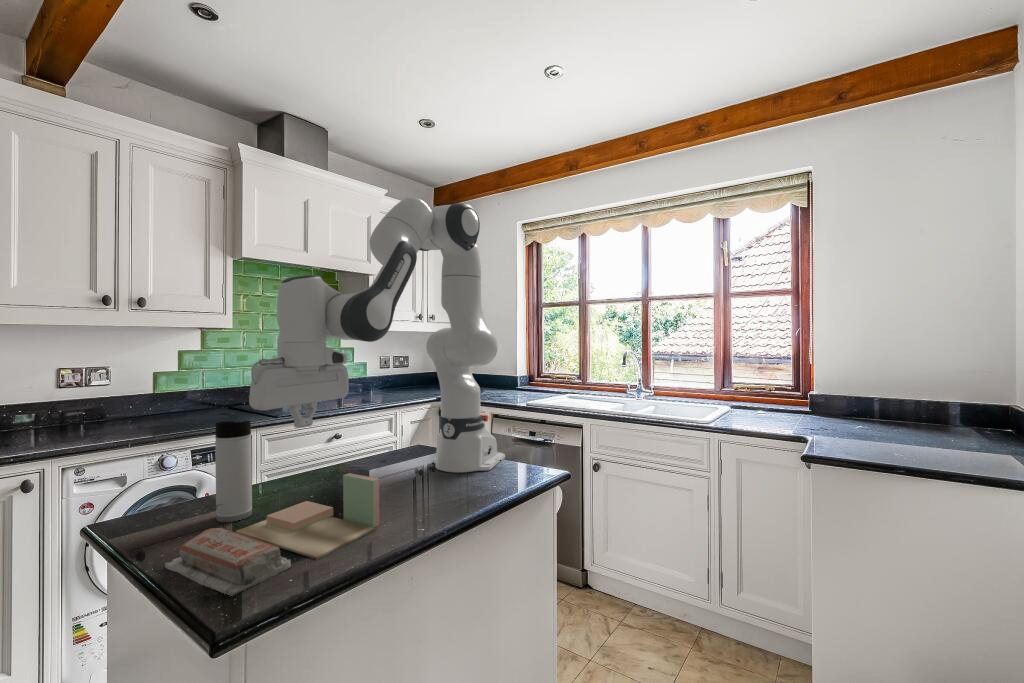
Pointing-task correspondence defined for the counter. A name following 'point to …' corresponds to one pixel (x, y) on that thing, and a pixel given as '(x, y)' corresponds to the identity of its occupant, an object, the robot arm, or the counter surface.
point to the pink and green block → (361, 499)
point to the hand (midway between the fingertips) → (303, 426)
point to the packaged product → (227, 560)
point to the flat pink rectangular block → (299, 516)
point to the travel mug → (233, 470)
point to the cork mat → (309, 536)
